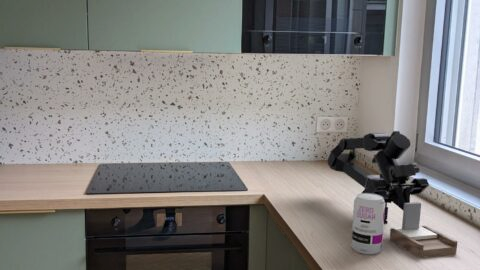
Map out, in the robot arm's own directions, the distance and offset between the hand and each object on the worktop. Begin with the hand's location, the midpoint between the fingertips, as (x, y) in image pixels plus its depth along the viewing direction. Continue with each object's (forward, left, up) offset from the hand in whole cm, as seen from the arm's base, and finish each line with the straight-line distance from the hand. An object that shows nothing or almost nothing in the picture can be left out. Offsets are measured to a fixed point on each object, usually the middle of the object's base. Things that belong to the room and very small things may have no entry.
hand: (408, 212), depth 154 cm
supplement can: (-15, -9, -8) cm, 19 cm away
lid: (+1, -4, -5) cm, 7 cm away
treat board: (+2, -7, -8) cm, 11 cm away
